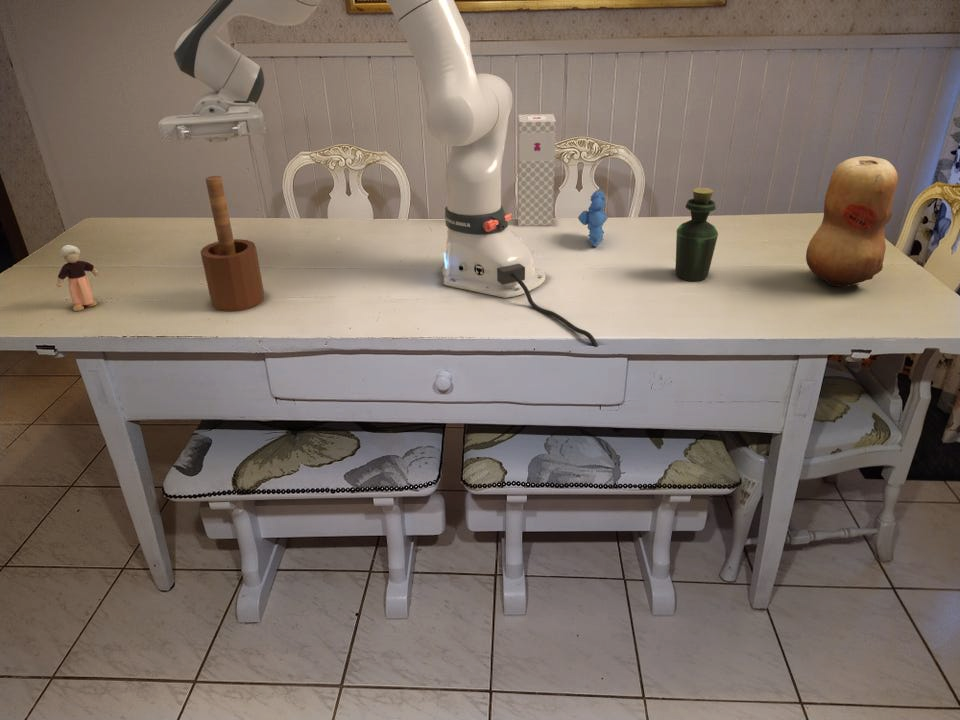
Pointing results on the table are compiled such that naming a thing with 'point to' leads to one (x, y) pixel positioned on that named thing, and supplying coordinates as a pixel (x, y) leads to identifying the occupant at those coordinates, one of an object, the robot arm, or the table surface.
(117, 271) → the table surface
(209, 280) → the cylindrical container
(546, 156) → the box
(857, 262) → the butternut squash
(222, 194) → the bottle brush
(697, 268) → the potion bottle
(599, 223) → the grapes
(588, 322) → the table surface
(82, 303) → the grandmother figurine
